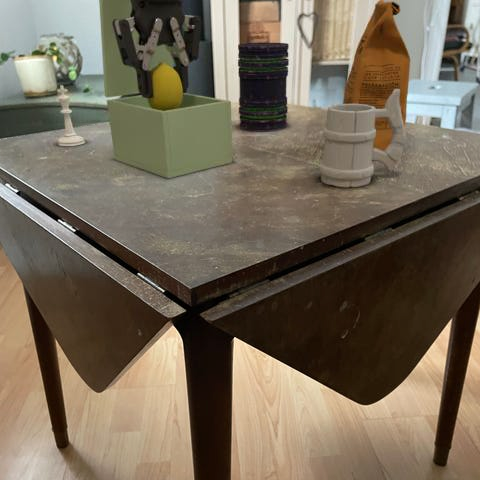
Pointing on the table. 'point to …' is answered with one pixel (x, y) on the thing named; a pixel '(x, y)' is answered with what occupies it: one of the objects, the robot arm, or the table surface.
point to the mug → (359, 142)
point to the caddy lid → (115, 72)
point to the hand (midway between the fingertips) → (164, 94)
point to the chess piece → (68, 122)
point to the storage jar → (263, 86)
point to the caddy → (171, 134)
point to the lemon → (165, 88)
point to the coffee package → (380, 69)
